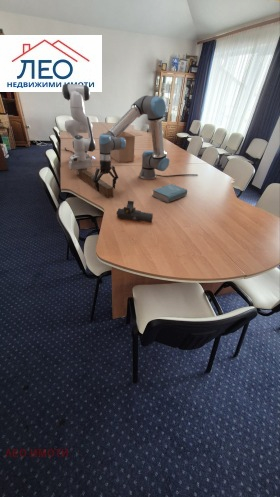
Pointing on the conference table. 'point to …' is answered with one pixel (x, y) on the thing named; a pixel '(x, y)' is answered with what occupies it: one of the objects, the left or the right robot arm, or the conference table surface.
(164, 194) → the book
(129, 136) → the box
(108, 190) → the bar
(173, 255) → the conference table surface
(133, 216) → the laser sight
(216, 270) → the conference table surface
